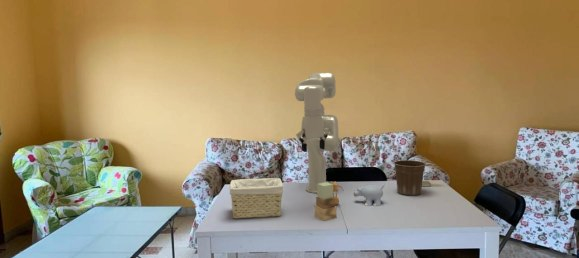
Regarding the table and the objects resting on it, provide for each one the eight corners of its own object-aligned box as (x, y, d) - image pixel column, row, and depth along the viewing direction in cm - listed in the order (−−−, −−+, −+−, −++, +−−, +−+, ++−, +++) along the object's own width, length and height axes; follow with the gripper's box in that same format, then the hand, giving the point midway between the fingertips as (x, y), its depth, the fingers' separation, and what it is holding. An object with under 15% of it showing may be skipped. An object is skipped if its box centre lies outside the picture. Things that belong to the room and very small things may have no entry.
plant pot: (412, 187, 216) (413, 158, 215) (432, 195, 201) (432, 164, 199) (387, 190, 211) (387, 161, 209) (405, 198, 196) (405, 167, 194)
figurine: (342, 203, 192) (342, 179, 190) (344, 206, 186) (344, 182, 184) (326, 203, 192) (325, 179, 190) (327, 207, 186) (326, 182, 184)
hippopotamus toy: (354, 198, 199) (353, 180, 197) (384, 199, 196) (384, 181, 195) (353, 205, 188) (353, 186, 187) (385, 206, 185) (385, 186, 184)
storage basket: (281, 206, 189) (280, 176, 188) (284, 217, 173) (283, 185, 172) (231, 209, 187) (230, 179, 185) (230, 221, 171) (228, 188, 169)
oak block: (327, 213, 178) (327, 202, 177) (336, 217, 172) (336, 206, 171) (314, 216, 174) (314, 205, 174) (323, 220, 168) (323, 209, 168)
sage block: (326, 195, 175) (326, 182, 175) (333, 197, 171) (332, 184, 170) (317, 196, 173) (317, 183, 172) (323, 199, 169) (323, 186, 168)
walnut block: (327, 203, 176) (327, 194, 176) (335, 207, 171) (334, 198, 170) (316, 205, 174) (316, 196, 173) (323, 209, 168) (323, 200, 168)
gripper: (323, 111, 184) (324, 146, 187) (292, 114, 176) (293, 151, 178) (333, 112, 178) (333, 149, 180) (300, 115, 169) (301, 154, 172)
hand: (313, 150), depth 179 cm, fingers open, 9 cm apart
